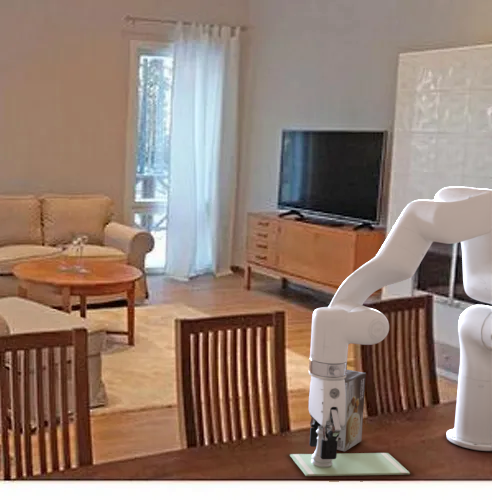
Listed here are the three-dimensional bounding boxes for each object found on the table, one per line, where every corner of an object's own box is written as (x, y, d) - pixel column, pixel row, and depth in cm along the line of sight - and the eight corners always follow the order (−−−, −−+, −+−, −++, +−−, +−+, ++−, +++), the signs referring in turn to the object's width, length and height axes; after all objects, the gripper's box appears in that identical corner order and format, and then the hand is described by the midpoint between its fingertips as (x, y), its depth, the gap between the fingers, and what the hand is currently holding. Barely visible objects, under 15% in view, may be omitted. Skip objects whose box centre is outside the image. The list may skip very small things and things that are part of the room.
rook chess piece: (308, 460, 177) (310, 423, 176) (328, 460, 177) (331, 423, 176) (314, 468, 172) (316, 431, 171) (335, 468, 173) (338, 431, 172)
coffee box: (335, 434, 194) (340, 367, 192) (362, 441, 191) (367, 372, 188) (318, 445, 187) (322, 375, 185) (345, 452, 183) (350, 381, 181)
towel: (387, 454, 183) (388, 452, 183) (409, 474, 172) (410, 472, 172) (289, 455, 180) (289, 454, 180) (305, 476, 169) (306, 474, 169)
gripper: (361, 380, 164) (355, 468, 166) (331, 357, 181) (325, 437, 183) (324, 380, 163) (318, 468, 166) (297, 357, 180) (292, 437, 183)
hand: (322, 451), depth 174 cm, fingers open, 6 cm apart
